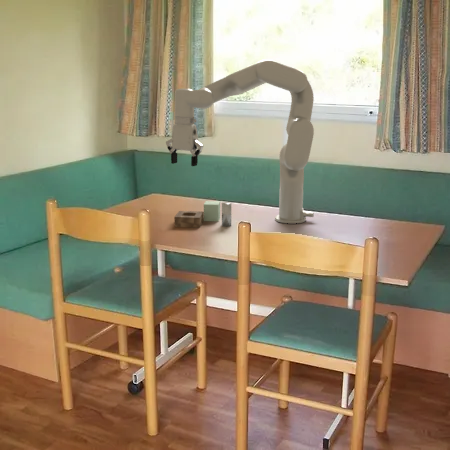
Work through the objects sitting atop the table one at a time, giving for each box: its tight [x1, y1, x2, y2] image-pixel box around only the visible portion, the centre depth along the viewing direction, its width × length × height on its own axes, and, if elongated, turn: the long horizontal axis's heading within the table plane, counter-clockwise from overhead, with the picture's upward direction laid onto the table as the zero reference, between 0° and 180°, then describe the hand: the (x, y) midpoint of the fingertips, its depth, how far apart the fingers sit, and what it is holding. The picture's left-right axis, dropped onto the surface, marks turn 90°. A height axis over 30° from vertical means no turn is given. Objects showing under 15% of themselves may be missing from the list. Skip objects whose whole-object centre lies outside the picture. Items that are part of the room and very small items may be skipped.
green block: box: [203, 200, 221, 222], centre depth 260 cm, size 6×6×7 cm
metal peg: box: [221, 201, 232, 228], centre depth 250 cm, size 4×4×9 cm
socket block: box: [174, 210, 205, 229], centre depth 253 cm, size 10×10×4 cm
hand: (184, 164), depth 252 cm, fingers open, 9 cm apart
